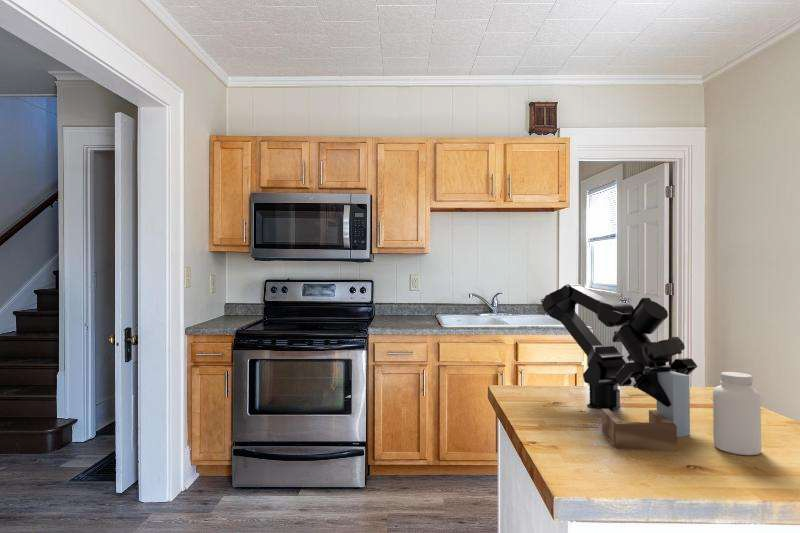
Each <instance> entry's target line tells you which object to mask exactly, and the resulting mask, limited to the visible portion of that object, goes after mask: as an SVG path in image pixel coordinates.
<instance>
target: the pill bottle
mask: <svg viewBox="0 0 800 533" xmlns="http://www.w3.org/2000/svg"><path fill="white" fill-rule="evenodd" d="M753 378H754V377H753V375H751V374H750V373H749V374H748V373H745V372H744V373H743V372H737V371H723V372H721V373H720V381H719V382H720V385H717V386H715V387H714V388H713V390H712V424H713V426H712V427H713V428H712V430H713V434H712V435H713V445H714V446H715V447H716V448H717V449H719V450H721V451H723V452H726V453H730V454H733V455H738V456H739V455H741V456H755V455H760V454H761V452H762V414H761V412H762V410H761V409H762V408H761V405H762V404H761V395H760V393H759V392H758V391H757V390H756V389H754V388H752V386H753V382H754V381H753Z"/></svg>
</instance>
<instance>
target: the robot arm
mask: <svg viewBox="0 0 800 533" xmlns="http://www.w3.org/2000/svg"><path fill="white" fill-rule="evenodd" d="M541 305H542V308H543V311H544V313H546V315H548V316H549V317H550V318H552V319H554V320H556V321H559V322H560V323H561V324H562V325H563V327H564V328H565V329H566V331H567V332H568V333H569V334H570V336H571V337H572V338H573V340H574V341H575V342H576V343H577V345H578V346H579V347H580V348H581V351H583V353H585V355H586V357H587V361H586V362H587V366H588V367H587V369H586V370H585V371H584V372H583V373H582V377H583V381H584V383H585V384H589V388H588V389H589V402H588V403H587V404H586V406H587V407H588V408H589V407H590V408H595V409H598V410H599V409H600V410H602V409H609V410H610V411H611V412H612V411H614V410H616V409H618V408H619V407H620V406H621V390H620V389H619V387H618V386H620V387H630V386H631V385H632V383H633V382H632V378H633V379H634V382H635V383H634V384H633V385H632V387H633V388H634V389H638V390H640V391H641V392H643V393H645V394H647V395H648V396H650V397H651V398H653V399H654V400H656V402H657V401H659V402H660V403H662V404H663V405H665V406H666V407H669V406H670V405H671V403H670V401H669V399H668V397H667V395H666V393H665V392H664V390H663V389H662V387H661V385H660V384H659V382H658V377H657V373H660V372H671V371H673V372H677V373H681V374H685V375H689V376H690V375H691V373H693V371H695V369H697V368H698V365H697V364H696V362H695V361H694V360H693V358H690V357H682V358H675V359H674V360H673V362H671V363H670V364H669V365H667V364H666V363H669V362H670V361H671V360H672V358H671V357H672V356H676V355H681V354H682V353H683V352H682V351H684V350H685V343H684V342H683V341H682V340H681V339H680V337H679V336H671V338H667V339H662V340H659V341H657V342H656V341H651V340H650V338H649V337H648V335H651V334H654V333H655V332H656V331H657V329H658V328H659V327H660V326H661V325H662V323H664V322H665V321H666V319H667V318H668V316H669V313H668V311H667V308H666V307H664V306H662V305H661V304H660V303H658V302H656V301H653V300H652V299H651V298H650V297H641V299H640V300H639V302H638V304H637V305H636V306H635V308H634V307H633V305H632V304H630V303H627V302H623V301H618V300H612V299H611V300H610V299H608V298H605V297H603V296H601V295H599V294H598V293H595V292H594V291H592V290H589V289H587V288H586V287H584V286H583V285H582V284H577V283H574V284H573V283H571V284H569V283H568V284H566V285H564V286H562V287H560V288H558V289H557V290H555V291H552V292H550V293H549V294H546V295H545V297H544V298H543V299H542V301H541ZM576 305H580V306H582V307H583V308H585V309H587V310H589V311H590V312H593V313H594V314H595V315H596V317H597V320H599V321H600V322H601V324H603V325H604V326H605V327H608V328H615V327H616V328H617V327H620V328H619V329H618V330H615V331H614V332H613V337H612V342H613V343H621V344H622V346H624V349H625V350H626V351H627V353H628V355H627V357H626V359H627V360H628V361H629V362H626V360H625V359H624V355H623V354H621V353H620V352H619V350H618V349H617V348H616V347H615V346H614V345H608V346H606V345H605V346H604V345H603V344H602V343H601V341H600V340H599V339H598V337H597V336H596V335H595V334H594V333H593V331H592V330H590V328H589V327H588V326H587V324H586V323H585V322H584V321H583V320H582V318H581V317H580V316H579V315H578V314H577V313H576ZM632 361H633V362H632Z"/></svg>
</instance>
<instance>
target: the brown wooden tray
mask: <svg viewBox="0 0 800 533" xmlns="http://www.w3.org/2000/svg"><path fill="white" fill-rule="evenodd" d="M601 432H602V434H603V435H604V436H605V437H606V438H607V439H608V441H609V442H610V443H611V444H612V445H613V446H614V447H615V449H616V450H641V451H642V450H643V451H644V450H645V451H669V452H671V451H672V452H676V451H678V437H677V426H676V425H675V424H674V423H672V422H671V421H670V420H669V419H667V418H666V417H665V416H663V415H662V414H661V413H659V412H658V411H657V409H648V422H644V421H643V422H642V421H641V422H639V421H638V422H637V421H622V420H620V419H619V417H618V416H617V415H615V413H613V412H612V411H610V410H609V409H601Z"/></svg>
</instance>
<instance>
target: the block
mask: <svg viewBox="0 0 800 533" xmlns="http://www.w3.org/2000/svg"><path fill="white" fill-rule="evenodd" d="M657 377H658V382H659V384H660V385H661V387H662V389H663V390H664V392H665V393H666V395H667V397H668V399H669V401H670V403H671V405H670V406H669V407H666V406H665V405H663V404H662V403H660V402H659V401H657V400H656V410H657V411H658V412H659V413H661V414H662V415H663V416H665V417H666V418H667V419H669V420H670V421H671V422H672V423H674V424H675V425H676V426H677V438H681V437H682V438H683V437H690V436H691V411H690V410H691V405H690V404H691V403H690V400H691V398H690V393H691V392H690V382H691V381H690V374H689V375H685V374H681V373H677V372H673V371H671V372H660V373H657Z"/></svg>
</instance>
